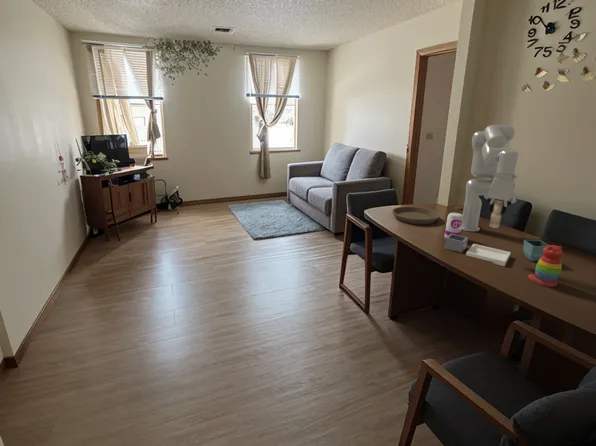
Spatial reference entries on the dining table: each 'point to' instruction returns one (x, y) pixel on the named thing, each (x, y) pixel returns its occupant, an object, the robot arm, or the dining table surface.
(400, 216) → the plant saucer
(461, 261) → the dining table surface
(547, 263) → the stacking bear
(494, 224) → the birch peg
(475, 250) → the white tray
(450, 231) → the supplement can
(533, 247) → the flower pot
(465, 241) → the grey open box
